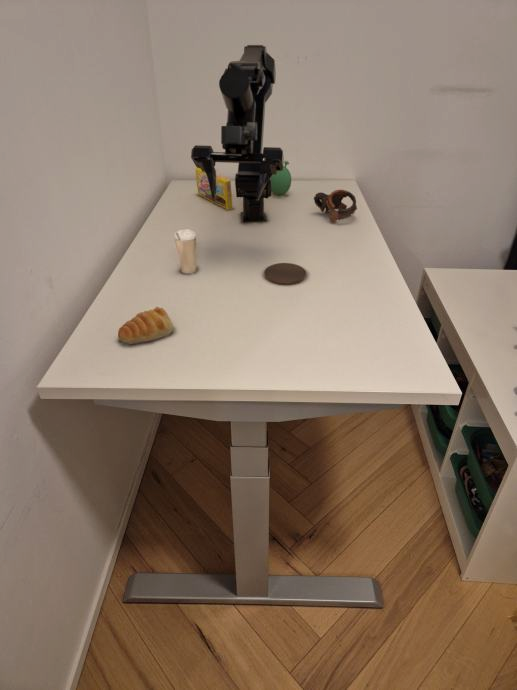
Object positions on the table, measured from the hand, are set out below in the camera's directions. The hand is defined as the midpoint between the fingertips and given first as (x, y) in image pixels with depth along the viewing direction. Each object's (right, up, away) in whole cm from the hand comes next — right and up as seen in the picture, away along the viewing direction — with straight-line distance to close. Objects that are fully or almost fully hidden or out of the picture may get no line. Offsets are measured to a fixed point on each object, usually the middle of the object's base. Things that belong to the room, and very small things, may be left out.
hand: (235, 199), depth 97 cm
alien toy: (+11, +16, +46) cm, 50 cm away
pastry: (-15, -28, -13) cm, 35 cm away
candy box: (-8, +12, +41) cm, 44 cm away
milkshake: (-11, -14, +6) cm, 19 cm away
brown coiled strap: (+26, +5, +32) cm, 41 cm away
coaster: (+11, -15, +4) cm, 19 cm away
